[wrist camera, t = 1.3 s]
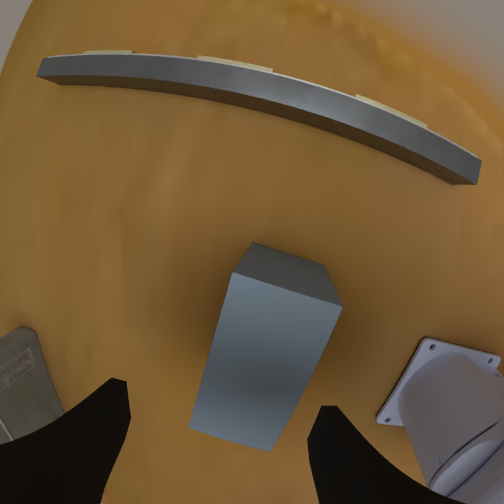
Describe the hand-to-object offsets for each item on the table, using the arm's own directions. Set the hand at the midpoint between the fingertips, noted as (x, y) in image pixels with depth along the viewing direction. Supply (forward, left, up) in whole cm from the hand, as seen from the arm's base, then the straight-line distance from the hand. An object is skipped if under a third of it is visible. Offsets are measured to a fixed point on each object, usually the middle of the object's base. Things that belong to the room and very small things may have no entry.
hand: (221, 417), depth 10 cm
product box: (-1, 0, -10) cm, 10 cm away
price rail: (+5, -13, -10) cm, 17 cm away
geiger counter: (+16, +22, -10) cm, 29 cm away
